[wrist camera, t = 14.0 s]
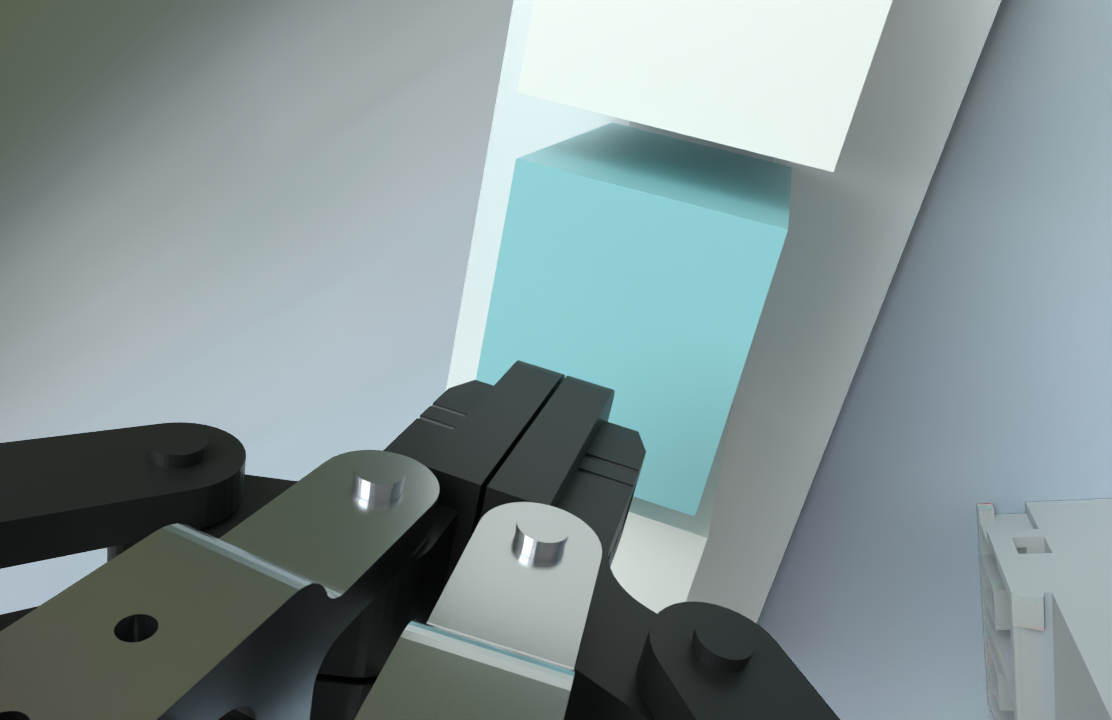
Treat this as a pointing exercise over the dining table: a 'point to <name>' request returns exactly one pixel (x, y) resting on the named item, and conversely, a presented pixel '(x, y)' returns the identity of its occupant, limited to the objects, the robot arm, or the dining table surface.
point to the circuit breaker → (1048, 609)
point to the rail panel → (813, 232)
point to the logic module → (640, 285)
